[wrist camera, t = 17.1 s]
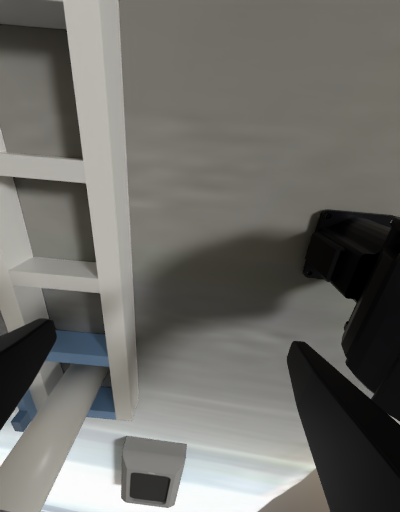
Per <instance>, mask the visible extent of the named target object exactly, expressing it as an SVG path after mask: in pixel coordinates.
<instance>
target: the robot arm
mask: <svg viewBox="0 0 400 512" xmlns="http://www.w3.org/2000/svg"><path fill="white" fill-rule="evenodd" d="M328 213H329V216H328V217H327V218H325V216H326V214H328ZM391 220H392V222H391V223H390V221H391ZM305 259H306V262H305V266H304V269H303V274H304V275H305V276H306V277H307V278H316V279H325V280H326V281H327V282H330V283H331V284H332V285H333V286H334V287H335V288H336V289H337V290H338V291H339V292H340V293H341V294H342V295H343V296H344V297H345V298H348V299H353V300H354V301H355V302H356V306H355V308H354V310H353V312H352V314H351V317H350V319H349V321H347V322H346V324H345V326H344V331H345V332H344V334H343V336H342V343H341V345H342V348H343V351H344V353H345V356H346V358H347V359H346V362H345V363H346V365H347V366H348V367H349V369H350V370H351V371H352V373H353V374H354V375H355V376H356V378H357V379H358V380H359V381H360V382H361V383H362V384H363V385H364V386H365V387H366V388H367V389H369V390H370V391H371V392H372V393H374V395H373V397H372V398H371V399H370V398H368V397H367V396H366V395H365V394H364V393H363V392H362V391H360V390H359V389H358V388H357V387H356V386H355V385H354V384H352V383H351V382H350V381H349V380H348V379H347V378H346V377H344V376H343V375H342V374H341V373H340V372H339V371H338V370H336V369H335V368H334V367H333V366H332V365H331V364H330V363H328V362H327V361H326V360H325V359H324V358H323V357H322V356H320V355H319V354H318V353H317V352H316V351H315V350H313V349H312V348H311V347H310V346H309V345H308V344H307V343H305V342H301V341H293V342H292V344H291V347H290V350H289V353H288V356H287V365H288V369H289V374H290V378H291V383H292V388H293V392H294V397H295V401H296V405H297V409H298V412H299V416H300V419H301V422H302V425H303V428H304V431H305V434H306V437H307V441H308V444H309V447H310V450H311V453H312V456H313V459H314V462H315V466H316V469H317V472H318V475H319V478H320V481H321V484H322V487H323V490H324V493H325V497H326V500H327V503H328V506H329V509H330V512H400V425H399V424H398V423H397V422H396V421H395V420H394V419H393V418H391V417H390V416H392V417H394V418H395V419H397V420H398V421H400V217H396V216H393V215H384V214H373V213H362V212H351V211H340V210H329V209H327V210H324V211H323V212H322V213H321V214H320V217H319V221H318V224H317V227H316V230H315V232H314V233H313V234H312V237H311V241H310V244H309V247H308V250H307V254H306V257H305ZM308 271H311V272H310V273H308V274H307V272H308ZM56 339H57V334H56V330H55V326H54V322H53V320H52V319H47V318H39V319H37V320H35V321H32V322H30V323H28V324H26V325H24V326H22V327H20V328H17V329H15V330H13V331H11V332H9V333H7V334H5V335H2V336H0V430H1V429H2V427H3V426H4V424H5V423H6V421H7V420H8V418H9V417H10V416H11V414H12V413H13V411H14V410H15V408H16V407H17V405H18V404H19V402H20V401H21V399H22V398H23V396H24V395H25V393H26V392H27V391H28V389H29V387H30V386H31V384H32V383H33V381H34V379H35V378H36V376H37V374H38V373H39V371H40V369H41V367H42V365H43V364H44V362H45V360H46V358H47V356H48V355H49V353H50V351H51V349H52V348H53V346H54V344H55V342H56ZM388 414H389V415H390V416H389V415H388Z"/></svg>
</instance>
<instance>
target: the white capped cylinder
mask: <svg viewBox="0 0 400 512" xmlns="http://www.w3.org/2000/svg"><path fill="white" fill-rule="evenodd" d="M108 369H109V367H105V366H95V365H84V364H73V363H71V364H70V366H69V367H68V368H67V370H66V371H65V373H64V374H63V376H62V377H61V379H60V380H59V382H58V383H57V385H56V386H55V387H54V389H53V390H52V392H51V393H50V395H49V396H48V398H47V399H46V401H45V402H44V404H43V405H42V407H41V408H40V409H39V411H38V412H37V414H36V415H35V417H34V418H33V420H32V421H31V423H30V424H29V426H28V427H27V428H26V430H25V431H24V433H23V434H22V436H21V437H20V439H19V440H18V442H17V443H16V445H15V446H14V448H13V449H12V450H11V452H10V453H9V455H8V456H7V458H6V459H5V461H4V462H3V464H2V465H1V467H0V512H40V511H41V509H42V507H43V505H44V503H45V501H46V499H47V497H48V495H49V493H50V491H51V488H52V486H53V484H54V482H55V480H56V478H57V476H58V474H59V472H60V470H61V468H62V466H63V464H64V462H65V459H66V457H67V455H68V453H69V451H70V449H71V447H72V445H73V443H74V441H75V439H76V437H77V435H78V432H79V430H80V428H81V426H82V424H83V422H84V420H85V418H86V416H87V414H88V412H89V410H90V408H91V405H92V403H93V401H94V399H95V397H96V395H97V393H98V391H99V389H100V387H101V385H102V383H103V381H104V378H105V376H106V374H107V372H108Z"/></svg>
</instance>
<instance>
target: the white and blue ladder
mask: <svg viewBox="0 0 400 512" xmlns="http://www.w3.org/2000/svg"><path fill="white" fill-rule="evenodd" d="M0 24H9V25H20V26H31V27H43V28H54V29H66V30H67V36H68V43H69V51H70V59H71V67H72V75H73V83H74V91H75V99H76V107H77V114H78V122H79V130H80V138H81V146H82V154H83V159H77V158H66V157H55V156H44V155H32V154H21V153H10V152H6V148H5V144H4V140H3V136H2V132H1V128H0V311H1V313H2V316H3V319H4V322H5V324H6V327H7V330H8V333H9V332H11V331H13V330H15V329H17V328H20V327H22V326H24V325H26V324H28V323H30V322H32V321H35V320H37V319H39V318H47V319H49V316H48V312H47V309H46V305H45V301H44V297H43V293H42V289H41V288H49V289H60V290H71V291H82V292H92V293H100V296H101V304H102V312H103V320H104V328H105V334H94V333H83V332H72V331H61V330H56V334H57V339H56V342H55V344H54V346H53V348H52V349H51V351H50V353H49V355H48V356H47V358H46V360H45V362H44V364H43V365H42V367H41V369H40V371H39V373H38V374H37V376H36V378H35V379H34V381H33V383H32V384H31V386H30V387H29V389H28V391H27V392H26V393H25V395H24V396H23V398H22V399H21V401H20V402H19V404H18V405H17V406H18V409H19V412H18V413H17V414H16V416H15V417H14V418H13V420H12V421H11V423H12V425H13V428H14V430H15V431H20V432H24V431H25V429H26V428H27V426H28V425H29V423H30V422H31V421H32V420H33V418H34V417H35V415H36V414H37V412H38V411H39V409H40V408H41V407H42V405H43V404H44V402H45V401H46V399H47V398H48V396H49V395H50V393H51V392H52V390H53V389H54V387H55V386H56V385H57V383H58V382H59V380H60V379H61V377H62V376H63V371H62V367H61V363H60V362H62V363H73V364H84V365H95V366H105V367H110V375H111V383H112V388H109V387H100V389H99V391H98V393H97V395H96V397H95V399H94V401H93V403H92V405H91V408H90V410H89V412H88V414H87V416H86V417H93V418H103V419H114V420H124V421H132V419H133V416H134V413H135V409H136V406H137V402H138V399H139V388H138V368H137V349H136V330H135V310H134V291H133V272H132V252H131V233H130V214H129V194H128V175H127V155H126V136H125V117H124V97H123V78H122V59H121V39H120V20H119V1H118V0H0ZM13 177H22V178H33V179H44V180H55V181H66V182H77V183H86V186H87V193H88V201H89V209H90V217H91V225H92V233H93V241H94V249H95V257H96V262H86V261H75V260H64V259H53V258H42V257H33V254H32V250H31V246H30V242H29V238H28V234H27V230H26V226H25V222H24V218H23V215H22V211H21V207H20V203H19V199H18V195H17V191H16V187H15V183H14V179H13Z"/></svg>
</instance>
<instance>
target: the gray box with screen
mask: <svg viewBox="0 0 400 512" xmlns="http://www.w3.org/2000/svg"><path fill="white" fill-rule="evenodd" d="M186 447H187V444H182V443H175V442H168V441H160V440H153V439H146V438H138V437H131V436H127V437H126V440H125V444H124V447H123V452H122V486H121V498H122V499H123V500H124V501H125V502H127V503H135V504H143V505H150V506H158V507H166V508H169V507H171V506H173V505H174V504H175V500H176V496H177V492H178V488H179V484H180V480H181V476H182V472H183V468H184V464H185V458H186Z"/></svg>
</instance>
